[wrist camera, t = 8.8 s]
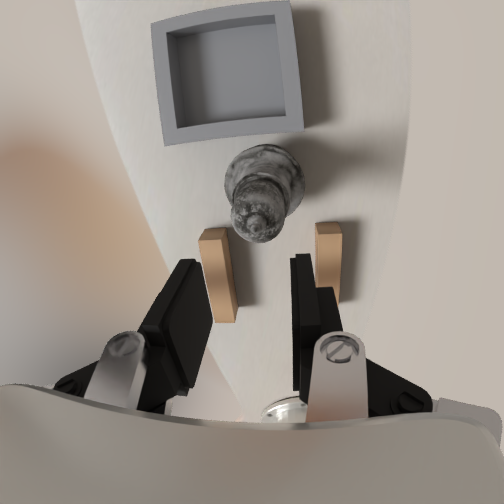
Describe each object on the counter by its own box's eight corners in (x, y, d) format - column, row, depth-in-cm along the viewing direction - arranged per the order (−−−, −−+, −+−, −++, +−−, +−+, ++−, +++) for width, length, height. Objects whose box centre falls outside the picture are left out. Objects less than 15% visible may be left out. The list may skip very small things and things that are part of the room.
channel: (333, 303, 30) (337, 319, 27) (219, 307, 31) (215, 322, 29) (337, 222, 26) (342, 233, 23) (204, 229, 27) (197, 240, 25)
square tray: (301, 129, 22) (304, 131, 19) (177, 141, 24) (164, 146, 21) (288, 12, 18) (289, 0, 15) (164, 31, 19) (150, 23, 16)
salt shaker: (278, 127, 22) (277, 143, 12) (314, 187, 24) (338, 253, 14) (218, 163, 24) (169, 210, 14) (255, 219, 26) (236, 301, 16)
